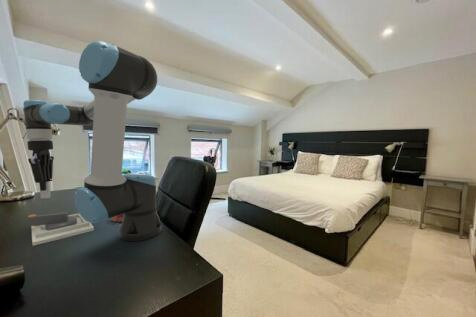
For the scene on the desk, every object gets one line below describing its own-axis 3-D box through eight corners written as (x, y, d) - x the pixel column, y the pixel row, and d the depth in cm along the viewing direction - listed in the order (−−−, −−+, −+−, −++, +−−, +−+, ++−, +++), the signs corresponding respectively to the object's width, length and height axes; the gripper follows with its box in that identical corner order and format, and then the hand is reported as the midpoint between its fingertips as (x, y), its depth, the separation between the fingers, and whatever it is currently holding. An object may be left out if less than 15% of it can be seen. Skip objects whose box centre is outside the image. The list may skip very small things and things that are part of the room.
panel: (94, 230, 87) (93, 223, 86) (32, 245, 74) (31, 237, 74) (83, 216, 102) (83, 210, 102) (31, 226, 90) (30, 220, 89)
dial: (80, 219, 95) (79, 207, 94) (73, 228, 86) (72, 214, 85) (36, 224, 89) (34, 211, 88) (23, 234, 80) (22, 220, 79)
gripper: (38, 140, 91) (44, 194, 93) (17, 140, 79) (24, 203, 81) (59, 140, 94) (64, 193, 96) (41, 139, 81) (48, 201, 83)
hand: (45, 197), depth 88 cm, fingers closed
